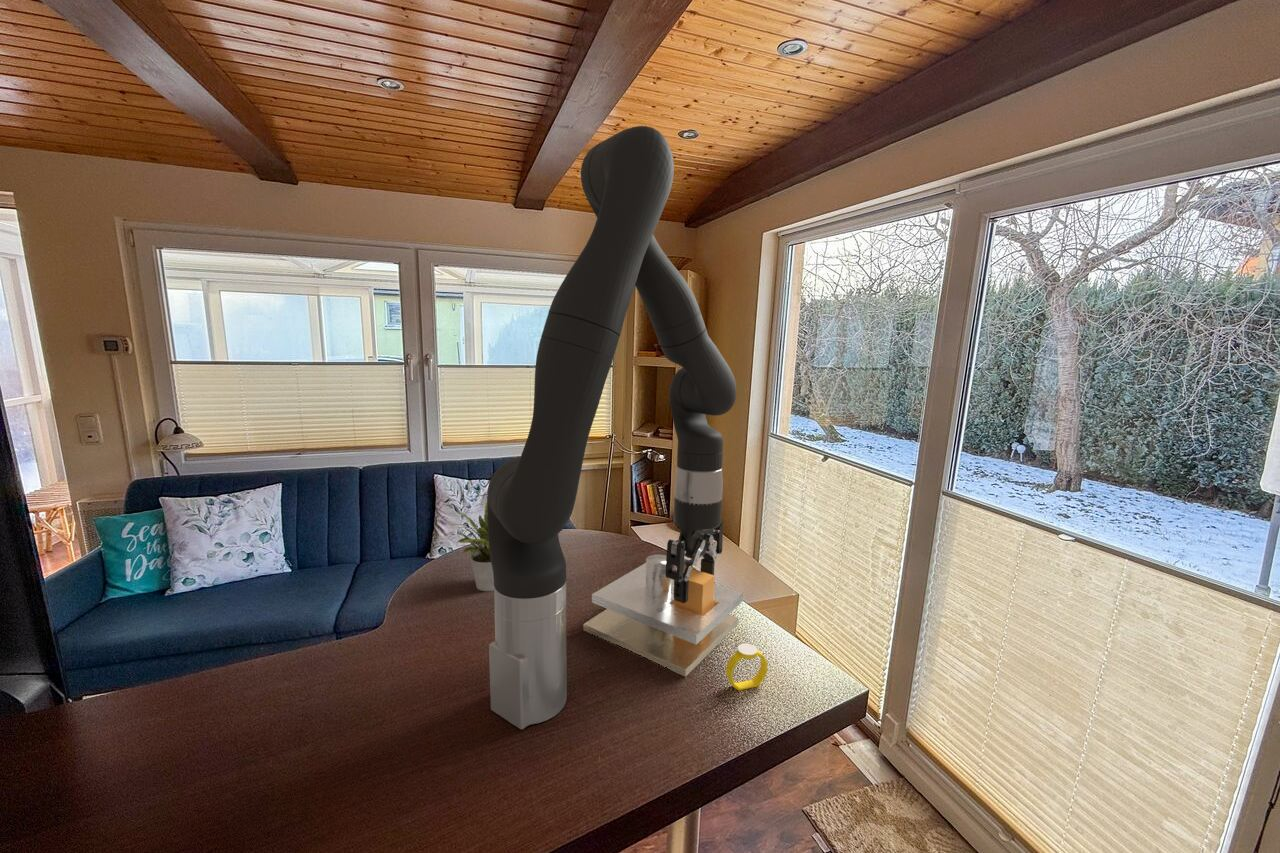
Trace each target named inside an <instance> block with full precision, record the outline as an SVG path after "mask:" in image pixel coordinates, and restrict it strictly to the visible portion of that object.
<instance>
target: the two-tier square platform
mask: <svg viewBox="0 0 1280 853" xmlns="http://www.w3.org/2000/svg"><path fill="white" fill-rule="evenodd" d="M666 557H667V554H666V555H665V554H651V555H649V556H647V557H646V558H645V562H644V563H643V564H641V565H639V566H638V567H636V568H634V569H633V570H631V571H629V572H628V573H626V574H624V575H622V576H621V577H619V578H617V579H616V580H614V581H612V582H611V583H609V584H607V585H606V586H604V587H602V588H600V589H598V590H596V591H595V592H593V593H592V594H591V603H593V604H595V605H596V606H600V607H602V608H605V610H603V611H602V612H600V613H598V614H597V615H595V616H594V617H592V618H590V619H589V620H587V621H586V622H585V623H583V624H582V625H583V626H582V627H583V629H582V630H583V632H585V631H586V632H585V633H588V634H590V635H592V634H593V636H594V635H595V636H594V637H597V636H598V637H597V638H599V639H601V638H602V639H601V640H603V639H604V640H603V641H605V640H607V641H606V642H608V641H610V642H611V643H610V642H609V643H610V644H612V643H614V644H617V645H619V646H621V647H623V648H626V649H629V650H631V651H633V652H635V653H638V654H639V655H641V656H643V657H646V658H648V659H649V660H652V661H654V662H656V663H658V664H660V665H659V666H661V665H662V666H661V667H663V666H664V667H663V668H665V667H667V668H668V670H669V669H670V671H671V672H672V671H673V672H674V673H676V674H679V675H680V676H683V677H684V678H687V676H688V675H689V674H690V673H691V672H692V671H693V670H694V669H695V668H696V667H697V666H698V665H699V664H700V663H701V662H703V660H704V659H705V658H706V657H707V656H708V655H709V654H710V653H711V652H712V651H713V650H714V649H715V648H716V647H717V646H718V645H719V644H720V643H721V642H722V641H723V640H724V639H726V637H727V635H729V634H730V633H731V632H732V631H733V630H734V629H735V628H736V627H737V626H738V624H739V617H738V616H735V615H732V614H731V613H732V612H733V611H734V610H735V609H736V608H737V607H738V606H739V605H740V604H742V602H743V598H744V593H743V592H740V591H737V590H735V589H730V588H729V587H725V586H721V585H719V584H715V583H714V599H713V608H712V609H711V610H710V611H709V612H708V613H707V614H705V615H704V616H701V615H698V614H696V613H693V612H690V611H688V610H685V609H682V608H679V607H677V606H674V604H675V599H674V580H673V579H670V578H667V577H666V576H665V573H666ZM711 630H712V633H711V634H710V635H709V636H708V637H707V638H706V639H705V640H704V641H703V642H702V643H701V644H700V643H699V642H700V641H701V640H702V639H703V638H704V637H705V636H706V635H707V634H708V633H709V632H710V631H711ZM614 644H613V645H614ZM619 646H618V647H619ZM621 647H620V648H621ZM623 648H622V649H623ZM641 656H640V657H641ZM643 657H642V658H643ZM649 660H648V661H649ZM652 661H651V662H652ZM654 662H653V663H654ZM656 663H655V664H656ZM658 664H657V665H658ZM667 668H666V669H667Z"/></svg>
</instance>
